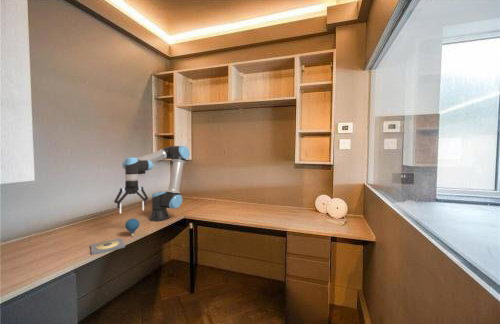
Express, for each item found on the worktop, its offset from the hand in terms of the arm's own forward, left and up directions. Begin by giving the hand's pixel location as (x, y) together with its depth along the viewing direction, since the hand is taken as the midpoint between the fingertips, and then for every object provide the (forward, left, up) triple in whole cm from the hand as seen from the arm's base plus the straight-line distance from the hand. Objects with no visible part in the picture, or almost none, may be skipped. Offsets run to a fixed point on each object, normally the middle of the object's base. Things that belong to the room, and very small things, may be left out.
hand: (131, 211), depth 145 cm
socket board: (+15, +9, -17) cm, 24 cm away
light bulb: (0, 0, -17) cm, 17 cm away
